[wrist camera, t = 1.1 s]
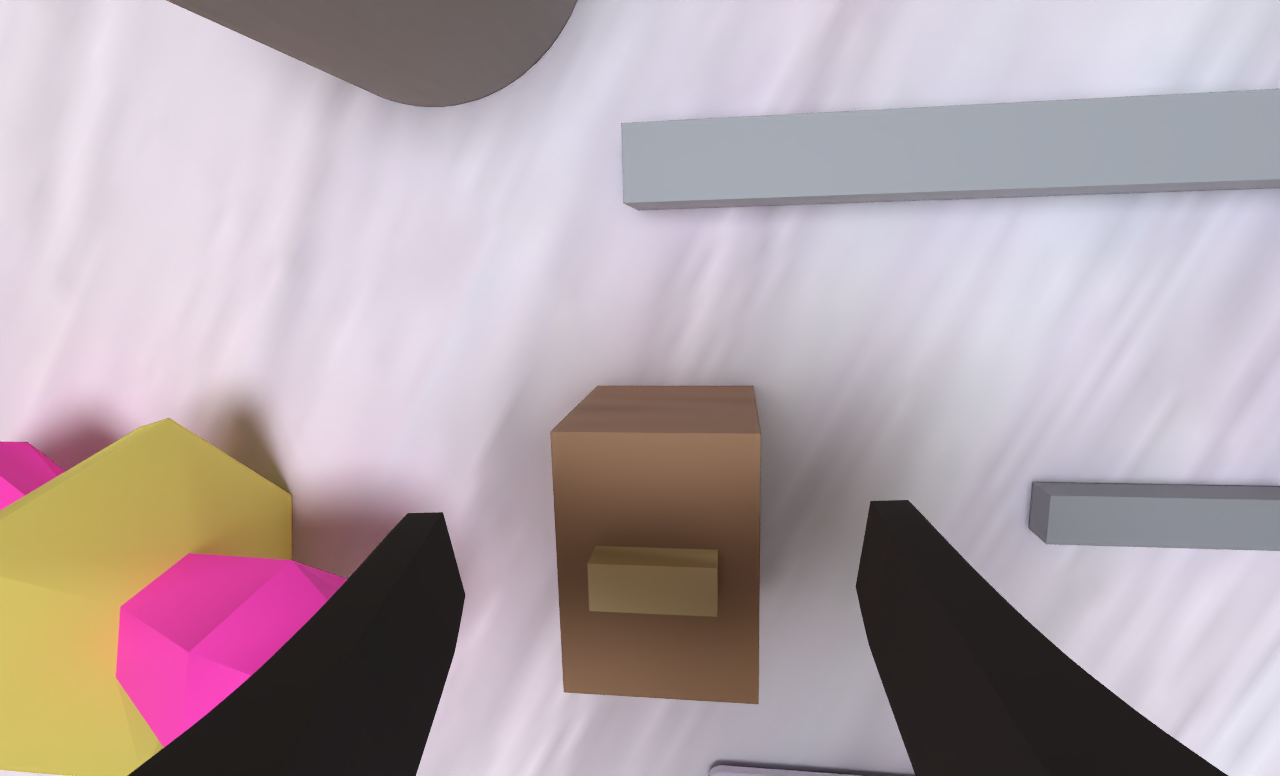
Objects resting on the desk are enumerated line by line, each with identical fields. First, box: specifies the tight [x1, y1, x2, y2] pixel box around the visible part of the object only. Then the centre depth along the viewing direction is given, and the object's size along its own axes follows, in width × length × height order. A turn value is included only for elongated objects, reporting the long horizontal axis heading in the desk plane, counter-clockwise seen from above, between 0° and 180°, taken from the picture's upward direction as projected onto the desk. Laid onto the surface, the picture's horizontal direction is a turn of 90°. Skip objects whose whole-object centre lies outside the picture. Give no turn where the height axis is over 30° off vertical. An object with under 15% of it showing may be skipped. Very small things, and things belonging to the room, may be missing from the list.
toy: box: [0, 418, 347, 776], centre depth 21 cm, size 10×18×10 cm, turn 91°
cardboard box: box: [551, 386, 761, 704], centre depth 19 cm, size 7×5×7 cm
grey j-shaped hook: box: [621, 89, 1280, 551], centre depth 19 cm, size 12×21×3 cm, turn 92°
